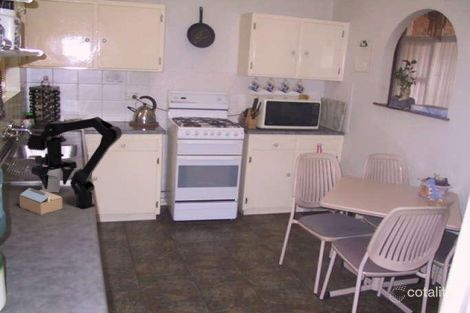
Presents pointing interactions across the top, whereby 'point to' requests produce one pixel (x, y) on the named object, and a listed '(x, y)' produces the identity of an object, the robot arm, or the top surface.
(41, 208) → the carton
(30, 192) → the flap
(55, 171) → the supplement box
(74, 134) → the top surface
